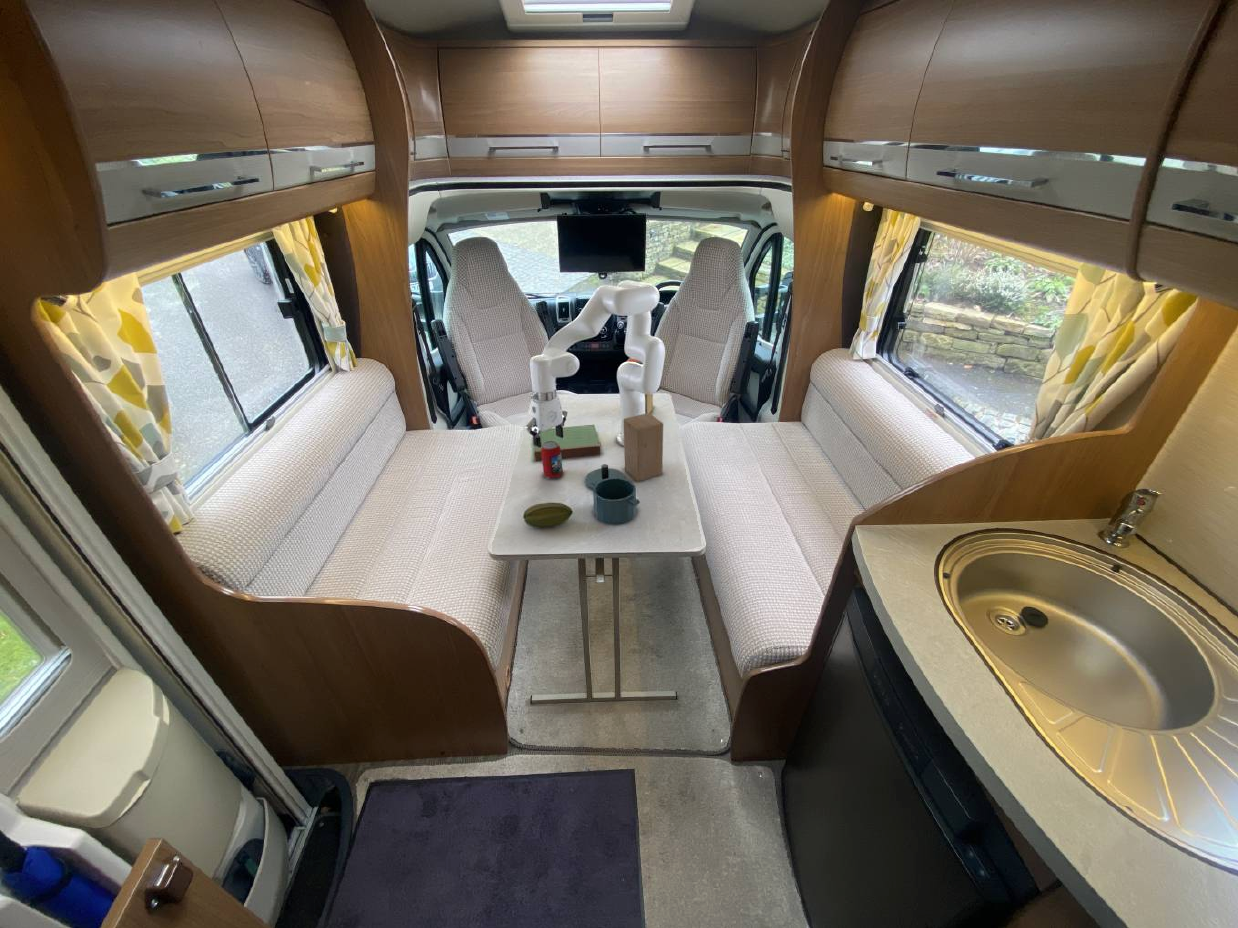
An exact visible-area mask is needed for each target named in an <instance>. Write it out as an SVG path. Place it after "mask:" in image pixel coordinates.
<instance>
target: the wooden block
mask: <svg viewBox="0 0 1238 928" xmlns="http://www.w3.org/2000/svg"><path fill="white" fill-rule="evenodd" d="M623 448H624V449H623V453H624V470H625V471H626V472H627V473H628V474H630V476H631V477H633V478H634V479H635V480H636V481H637V482H641V481H645V480H648V479H651V478H655V477H657V476H662V475H663V459H664V458H663V457H664V456H663V455H664V454H663V453H664V423H663V422H662V421H661V420H659V419H658V418H657V417H655V416H654V415H653V414H651V413H650V414H649V413H646V414H642V415H638V416H634V417H629V418H625V419H624V446H623Z"/></svg>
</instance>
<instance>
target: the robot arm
mask: <svg viewBox="0 0 1238 928" xmlns="http://www.w3.org/2000/svg"><path fill="white" fill-rule="evenodd" d="M660 298H661V296H660V292H659V289H658V288H657V287H656V286H655V285H654V284H650V283H646V282H640V281H636V280H621V281H620V282H618V283H617V285H616V286H615V285H611V284H603V285H601V286H599V287H597V288H596V290H595V291H594V292H593V294H592V296H591V297H590V298H589V299H588V301H587V303H586V304H585V306H584V307H583V308H582V309H581V311H580V313H579V314H578V316H577V317H576V318H575V319H574V320H573V321H571V322H568V324H566V325H565V326H563V327H561V328H560V329H559V330H558V331H556V332H555V333H554V334H553V336H551V338H550V339H549V341H548V342H547V343H546V345H545V346H544V348H543V351H542V352H541V354H538V355H533V356H532V357H531V358H530V359H529V370H530V380H531V389H532V394H531V395H530V399H531V409H530V410H531V413H530V415H531V420H530V421H529V422H528V423H527V424H526V425H525V426H524V430H526V432H527V433H528V434H529V435H531V436H532V442H533V446H534V447H535V446H537V447H539V448H540V447H541V437H540V436H539V435H540V433H541V431H546V430H548V429H551V428H555V429H556V436H558V437H561V438H563V427H565V423H566V421H567V417H568V414H569V413H568V410H567V411H566V410H563V407H562V403H561V400H560V396H559V395H558V394H557V385H556V379H557V378H567V377H572V376H574V375H575V374H576V373H577V372H578V371H579V369H580V360H579V359H578V357H577V356H576V355H574V354H573V353H571V352H568V351H567V350H568V349H569V348H570V347H572V345H574V344H576V343H577V342H581V341H584V340H588V339H593V338H594V337H597V336H598V335H599V333H600V332H601V330H602V329H603V327H604V326H605V324H606V323H607V321H608V320H609V319H610V317H611V316H612V315H617V316H620V317H626V316H627V322H626V331H625V339H624V354H625V355H626V356H627V357H628V358H632V359H635V360H638V361H641V362H643V365H641V364H638V363H635V362H627V361H625V362H623V363H621V364H620V365H619V366H618V368H617V371H616V382H617V385H618V390H619V404H620V405H619V407H620V408H619V409H620V413H619V414H620V433H619V434H617V437H616V441H617V443H618V444H619V445H621V446H623V447H624V419H625V418H629V417H634V416H638V415H642V414H645V395H644V394H646V395H651V394H653V395H654V394H655V393H657V391H658V389H659V388H660V385H661V382H662V377H663V371H664V365H665V359H666V347H665V344H664V342H663V340H662V339H660V338H659V337H656V336H653V335H651V328H652V314H651V312H652V310H654V309H655V308H656V307H658V304H659V302H660ZM536 430H537V432H536ZM535 432H536V433H535Z"/></svg>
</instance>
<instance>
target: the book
mask: <svg viewBox="0 0 1238 928" xmlns="http://www.w3.org/2000/svg"><path fill="white" fill-rule="evenodd" d="M537 430H538V429H537ZM537 430H536V432H537ZM536 432H535V433H536ZM539 436H540V437H541V447H540V448H539V447H537V446H535V445H534V458H535V462H538V461H539V462H541V461H542V454H541V448H542V446H543V443H545V442H548V441H555V442H557V443H558V445H559V446H560V448H561V457H562V459H570V458H571V459H572V458H581V457H590V456H600V455H601V447H602V442H600V440H599V436H598V433H597V429H596V425H595V424H586V425H575V426H563V438H561V437H558V436H556V429H555V427H553V428H550V429H548V430H546V431H541V433H540V435H539Z"/></svg>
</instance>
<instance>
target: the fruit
mask: <svg viewBox="0 0 1238 928" xmlns="http://www.w3.org/2000/svg"><path fill="white" fill-rule="evenodd" d="M573 513H574V510H573V509H572V508H571V507H570V506H569V505H567V504H565V503H562V502H544V503H542V502H541V503H537V504H533V505H531V506H530V507H528V508H527V509H526V510H525V511H524V512H523V515H522V518H523V519H524V523H526V525H528V526H530V527H532V528H538V529H539V528H541V529H542V528H552V527H555V526H558V525H561V524H563V523H565V522H566V521H568V520H569V519H570V518H571V516H572V514H573Z"/></svg>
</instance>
